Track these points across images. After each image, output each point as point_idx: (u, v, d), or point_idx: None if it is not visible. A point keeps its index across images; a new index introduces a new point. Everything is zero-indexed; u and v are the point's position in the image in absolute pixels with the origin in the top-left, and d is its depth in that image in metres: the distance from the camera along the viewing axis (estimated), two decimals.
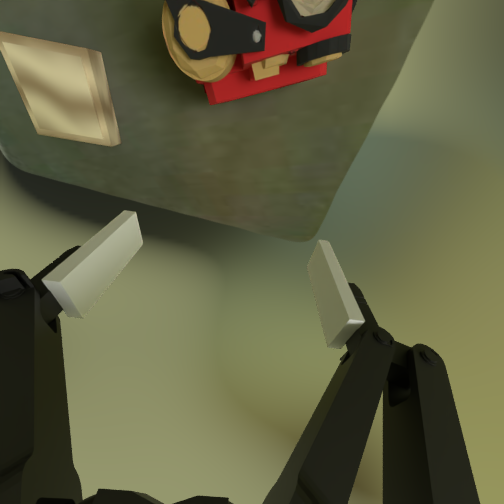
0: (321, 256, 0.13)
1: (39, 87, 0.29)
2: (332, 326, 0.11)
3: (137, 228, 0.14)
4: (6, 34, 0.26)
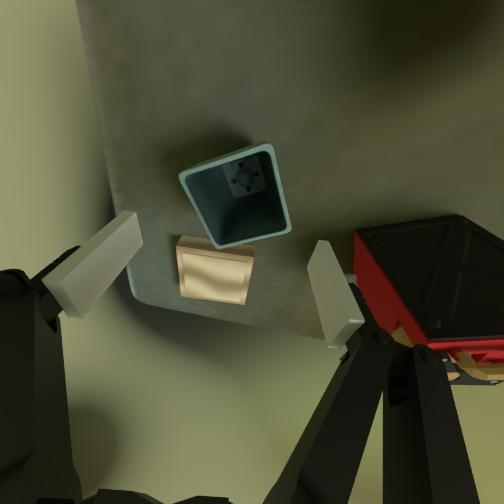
0: (321, 256, 0.13)
1: (199, 275, 0.34)
2: (332, 326, 0.11)
3: (137, 228, 0.14)
4: (187, 248, 0.30)
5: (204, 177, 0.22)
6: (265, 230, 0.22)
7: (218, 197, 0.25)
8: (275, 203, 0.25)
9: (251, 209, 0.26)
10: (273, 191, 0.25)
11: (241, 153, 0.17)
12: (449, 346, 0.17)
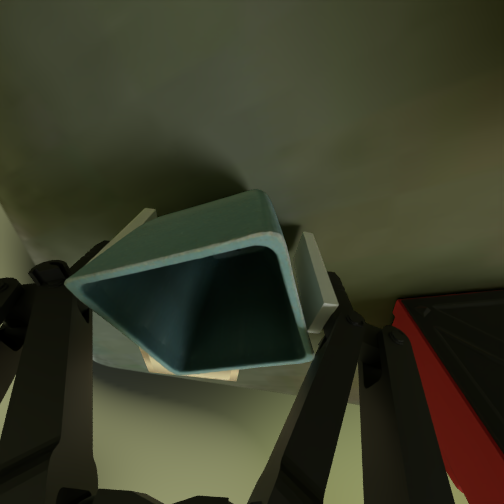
0: (304, 247, 0.14)
1: None
2: (311, 311, 0.11)
3: None
4: None
5: None
6: (264, 349, 0.12)
7: (185, 270, 0.15)
8: (280, 278, 0.15)
9: (240, 284, 0.16)
10: (277, 258, 0.15)
11: (202, 250, 0.06)
12: None
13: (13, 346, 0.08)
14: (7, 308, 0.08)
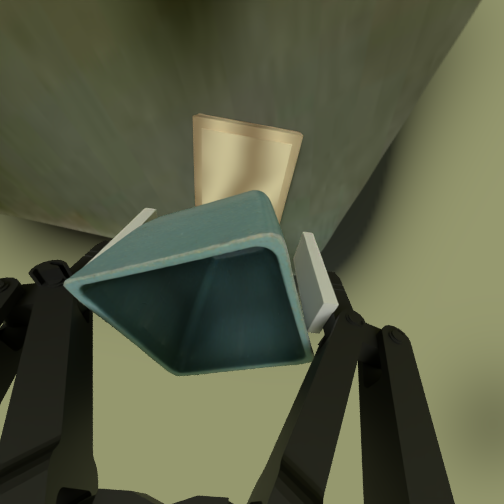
0: (304, 247, 0.14)
1: None
2: (310, 311, 0.11)
3: None
4: (196, 205, 0.27)
5: None
6: (263, 349, 0.12)
7: (185, 270, 0.15)
8: (280, 279, 0.15)
9: (240, 285, 0.16)
10: (277, 259, 0.15)
11: (202, 251, 0.06)
12: None
13: (13, 346, 0.08)
14: (7, 308, 0.08)
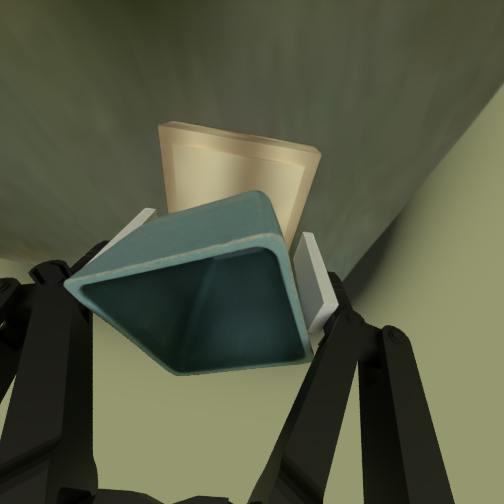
0: (304, 247, 0.14)
1: None
2: (310, 311, 0.11)
3: None
4: None
5: None
6: (263, 349, 0.12)
7: (185, 270, 0.15)
8: (280, 279, 0.15)
9: (240, 285, 0.16)
10: (277, 259, 0.15)
11: (202, 251, 0.06)
12: None
13: (13, 346, 0.08)
14: (7, 308, 0.08)
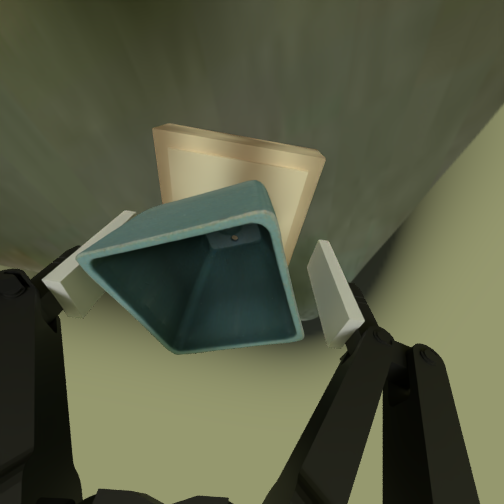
0: (321, 256, 0.13)
1: None
2: (332, 326, 0.11)
3: None
4: None
5: None
6: (258, 329, 0.13)
7: (184, 257, 0.16)
8: (275, 267, 0.16)
9: (237, 272, 0.17)
10: (272, 248, 0.16)
11: (204, 226, 0.07)
12: None
13: None
14: None
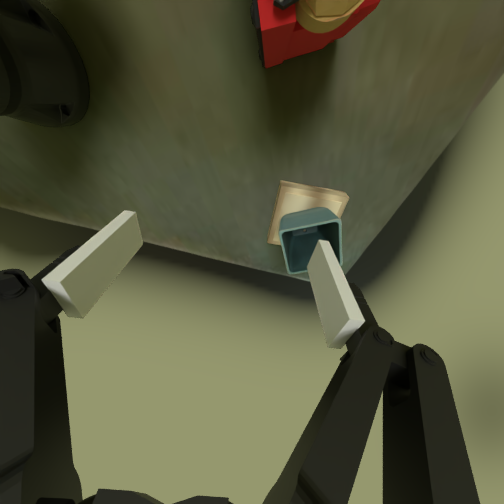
0: (321, 256, 0.13)
1: None
2: (332, 326, 0.11)
3: (137, 228, 0.14)
4: (270, 236, 0.40)
5: None
6: None
7: (286, 237, 0.36)
8: None
9: (307, 245, 0.37)
10: (324, 234, 0.36)
11: (321, 222, 0.28)
12: None
13: None
14: None
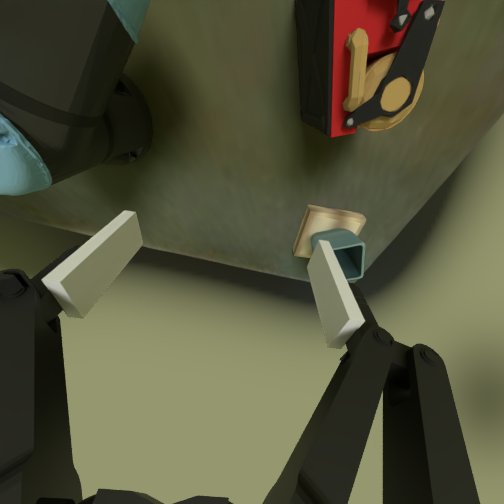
0: (321, 256, 0.13)
1: None
2: (332, 326, 0.11)
3: (137, 228, 0.14)
4: (297, 250, 0.47)
5: None
6: (346, 275, 0.40)
7: None
8: (346, 257, 0.43)
9: None
10: (345, 250, 0.43)
11: (349, 246, 0.35)
12: (339, 115, 0.19)
13: None
14: None
